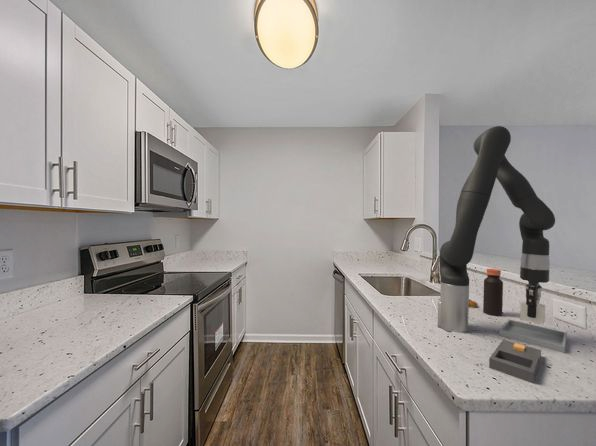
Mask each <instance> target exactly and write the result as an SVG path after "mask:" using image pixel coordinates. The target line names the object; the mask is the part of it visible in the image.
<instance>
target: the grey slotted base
mask: <svg viewBox="0 0 596 446" xmlns="http://www.w3.org/2000/svg"><path fill="white" fill-rule="evenodd" d="M541 358H542V350H541V349H538V348H536V347H531V346H528V345H524V344H521V343H517V342H513V341H510V340H507V339H502V340H501V342H500V343H499V344H498V345H497V347H496V348H495V350H494V351H493V352H492V354H491V356H490V357H489V361H488V363H489V364H488V368H490V369H491V370H495V371H498V372H501V373H503V374H505V375H508V376H512V377H515V378H517V379H520V380H523V381H525V382H526V381H527V382H528V383H531V384H534V381H535V378H536V376H537V372H538V370H539V366H540V363H541Z"/></svg>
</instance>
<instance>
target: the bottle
mask: <svg viewBox="0 0 596 446" xmlns="http://www.w3.org/2000/svg"><path fill="white" fill-rule="evenodd" d="M501 272H502V271H501V269H496V268H486V275H487V277H485V278H484V279H483V302H482V303H483V305H482V306H483V307H482V308H483V309H482V312H483V314H485V315H489V316H492V317H503V306H504V305H503V301H504V299H503V295H504V282H503V280H502V279H501Z"/></svg>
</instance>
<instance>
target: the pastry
mask: <svg viewBox="0 0 596 446" xmlns="http://www.w3.org/2000/svg"><path fill="white" fill-rule="evenodd" d="M478 305H479V304H478V302H476V301H474V300H472V299H470V298H469V308H471V309H472V308H473V309H474V308H478Z"/></svg>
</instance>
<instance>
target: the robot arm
mask: <svg viewBox="0 0 596 446" xmlns="http://www.w3.org/2000/svg"><path fill="white" fill-rule="evenodd" d="M511 139H512V136H511V133H510V131H509V129H507V128H506V127H505V126H501V125H497V126H492V127H490V128H488V129H486V130H484V131H483V132H482V133H481V134H480V135H478V137H476V139H475V140H474V142H473V150H474V153H475V154H476V155H477V158H476V161H475V164H474V167H473V168H472V169H471V171H470V173H469V174H468V176H467V178H466V180H465V182H464V183H463V186H462V188H461V190H460V193H459V197H458V200H457V204H456V212H455V226H454V228H453V232H452V235H451V238H450V240H447V241H446V242H444V243H443V244H442V245H441V247H440V250H439V274H440V275H439V276H440V294H439V295H440V299H439V301H438V302H437V327H439V328H440V329H442V330H444V331H447V332H451V333H452V332H454V333H467V332H468V331H469V312H470V311H469V310H470V309H469V308H470V307H469V299H470V277H469V274H468V271H467V270H468V266H467V265H468V264H469V263H470V262H471V261H472V259H473V256H474V251H475V246H476V242H477V241H476V240H477V236H478V233H479V229H480V227H481V225H482V222H483V219H484V216H485V215H486V214H485V213H486V210H487V208H488V206H489V202H490V200H491V196H492V193H493V189H494V186H495V184H496V180H497V181H498V183H500V186H501V187H502V188H503V191H504V192H505V194H506V195H507V197H508V199H509V201H510V202H511V204H512V205H513V207H515V208H517V209H520V210H521V211H522V212H523V213H522V214H521V215H520V217H519V220H518V221H519V223H518V224H519V225H518V226H519V231H520V236H521V240H522V244H521V245H522V247H521V256H520V269H519V270H520V272H519V278H520V279H521V280H523V281H527V282H528V283H527V284H525V289H524V290H525V301H526V305H527V306H528V309H527V316H528V317H532V318H536V307H537V303H538V304H540V301H541V297H542V290H543V287H542V285H541V284H542V283H543V284H544V283H545V284H546V283H549V281H550V265H551V263H550V241H549V239H548V238H545V237H544V231H549V230H550V229H552V228H553V227H554V226H555V224H556V217H555V214H554V213H553V211H552V210H551V209H550V207H549V206H548V205H547V204H546V203H545V202H544V201H543V200H542V199H541V198H540V197H538V195H537V193H536V192H535V190H534V188H533V187H532V185H531V183H530V182H529V181H528V179H527V178H526V176H525V175H523V173H521V172H520V171H518V170H517V169H516V168H515V166H513V165H512V164H511V162H509V160H508V158H507V157H506V153H507V151H508V149H509V146H510V144H511V141H512V140H511ZM540 283H541V284H540Z"/></svg>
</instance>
